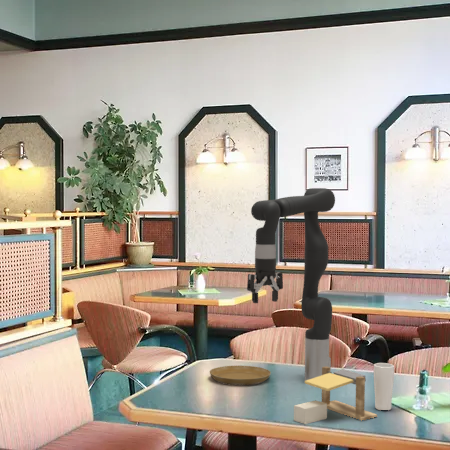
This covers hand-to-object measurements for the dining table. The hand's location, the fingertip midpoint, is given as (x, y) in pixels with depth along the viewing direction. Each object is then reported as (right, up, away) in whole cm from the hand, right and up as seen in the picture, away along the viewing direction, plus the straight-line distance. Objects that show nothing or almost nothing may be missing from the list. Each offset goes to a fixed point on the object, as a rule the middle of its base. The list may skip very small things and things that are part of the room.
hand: (265, 302), depth 257 cm
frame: (+27, -35, -17) cm, 47 cm away
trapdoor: (+22, -25, -20) cm, 39 cm away
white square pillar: (+17, -33, -23) cm, 43 cm away
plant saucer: (-8, -34, +26) cm, 43 cm away
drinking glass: (+39, -35, -13) cm, 54 cm away
